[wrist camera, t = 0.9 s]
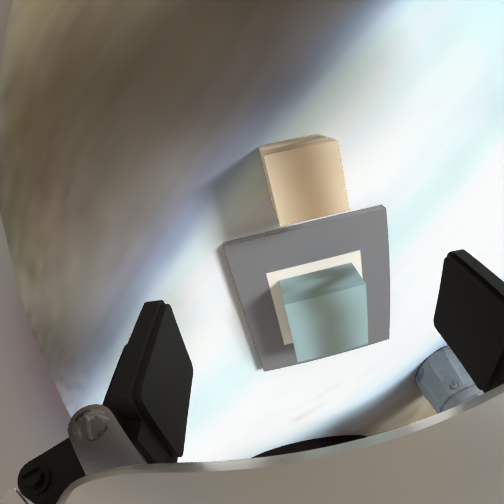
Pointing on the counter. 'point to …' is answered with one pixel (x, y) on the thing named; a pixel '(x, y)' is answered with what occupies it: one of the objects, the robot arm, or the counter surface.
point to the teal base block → (326, 311)
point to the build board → (306, 261)
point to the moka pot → (445, 381)
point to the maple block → (304, 178)
